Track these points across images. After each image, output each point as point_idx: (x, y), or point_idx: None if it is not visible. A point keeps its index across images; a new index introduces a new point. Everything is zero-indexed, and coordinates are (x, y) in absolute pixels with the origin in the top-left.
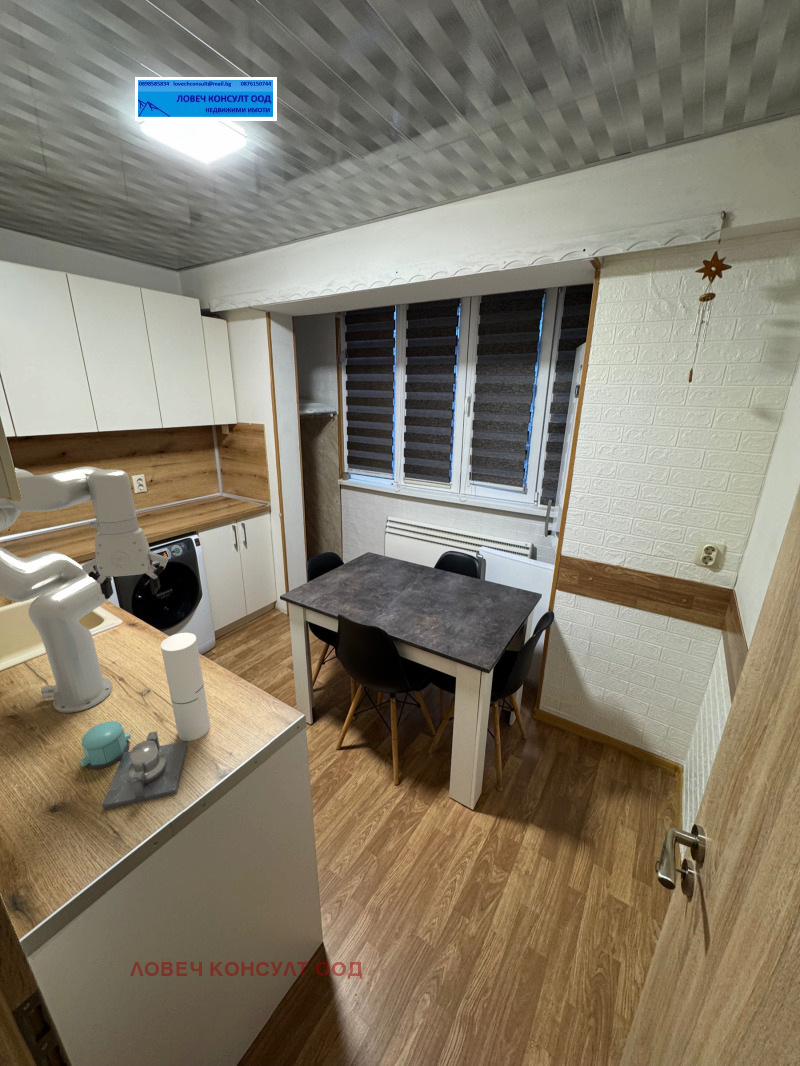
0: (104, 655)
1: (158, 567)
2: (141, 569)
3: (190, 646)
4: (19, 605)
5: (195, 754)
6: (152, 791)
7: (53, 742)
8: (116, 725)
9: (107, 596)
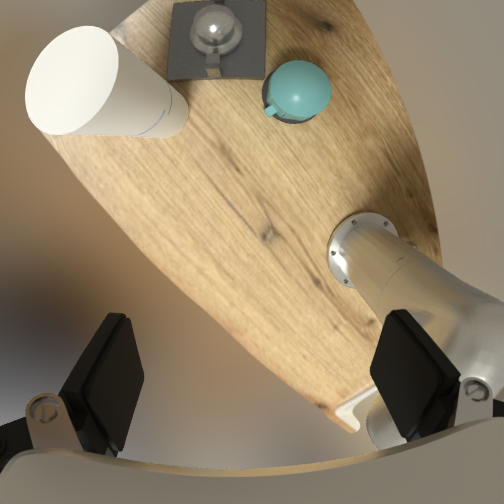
0: (351, 346)
1: (2, 465)
2: (39, 494)
3: (40, 58)
4: None
5: (155, 62)
6: (203, 5)
7: (377, 150)
8: (282, 100)
9: (399, 318)
